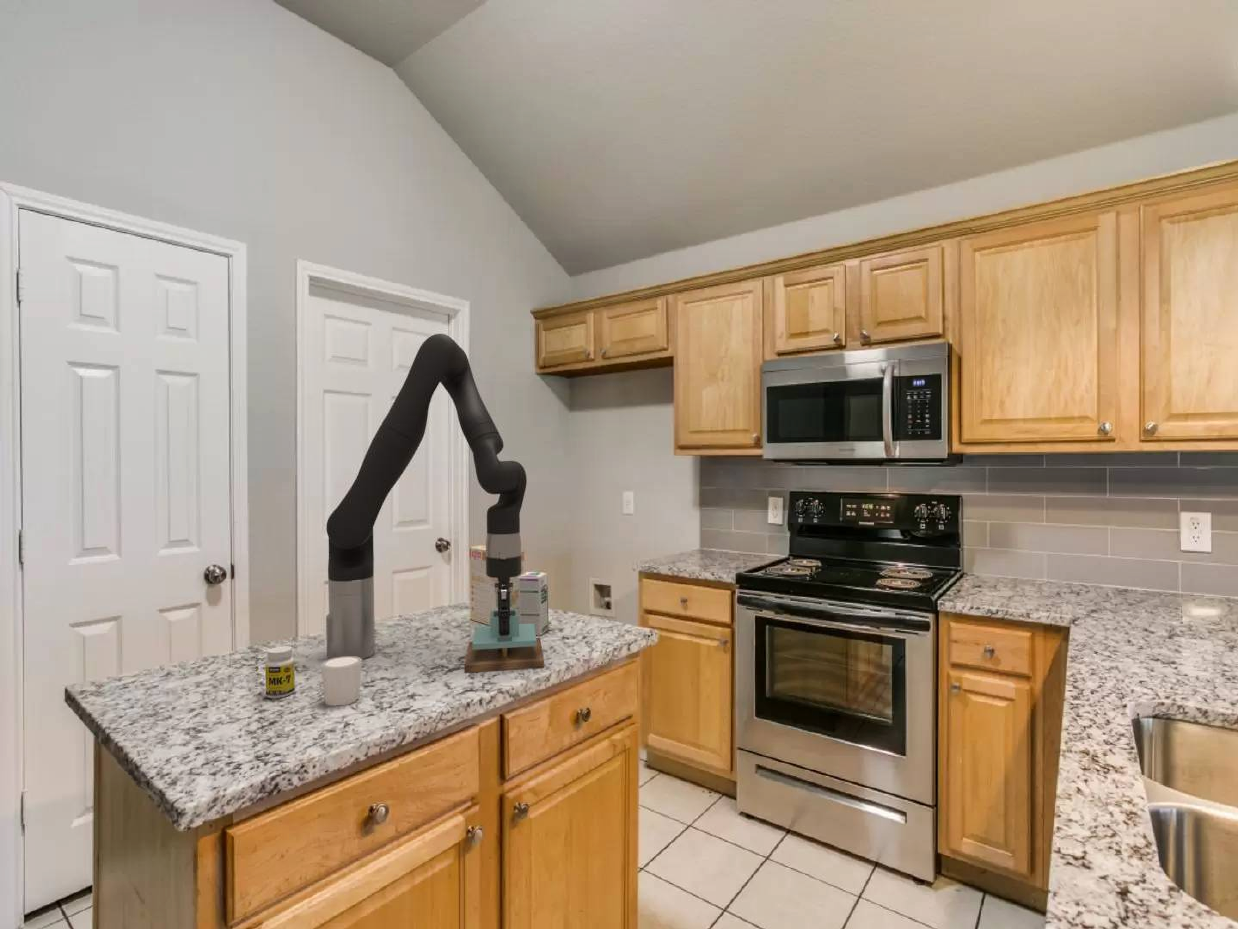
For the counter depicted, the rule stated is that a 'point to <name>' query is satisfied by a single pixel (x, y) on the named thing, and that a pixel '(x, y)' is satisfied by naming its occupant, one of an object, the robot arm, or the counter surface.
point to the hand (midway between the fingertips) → (504, 630)
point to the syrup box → (534, 600)
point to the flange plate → (517, 637)
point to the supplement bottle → (280, 672)
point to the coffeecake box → (486, 586)
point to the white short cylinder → (341, 679)
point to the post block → (504, 658)
